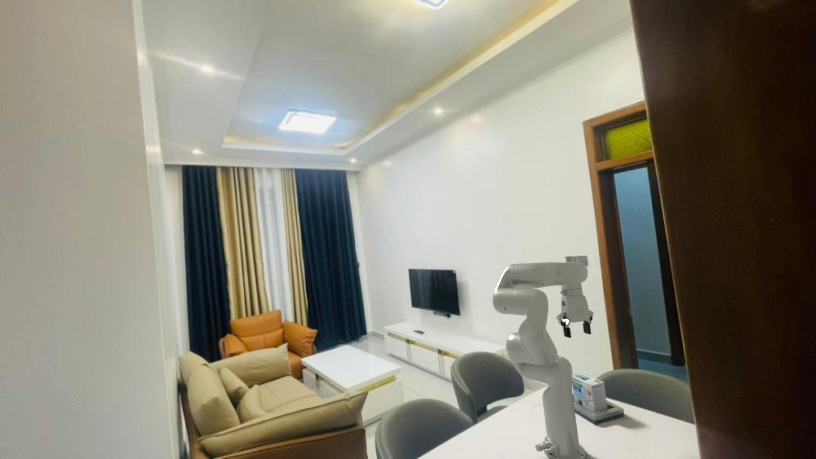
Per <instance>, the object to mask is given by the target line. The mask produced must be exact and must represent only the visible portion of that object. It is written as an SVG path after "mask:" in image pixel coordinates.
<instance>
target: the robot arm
mask: <svg viewBox="0 0 816 459" xmlns="http://www.w3.org/2000/svg"><path fill="white" fill-rule="evenodd" d="M588 272H589V271H588V268H587V266H586V265H585V263H583V262H582V261H581V262H579V261H578V262H576V261H567V262H566V261H565V262H559V261H558V262H557V261H553V262H552V261H550V262H549V261H547V262H546V261H545V262H527V263H526V262H524V263H512V264H509V265H507V267H505V269H504V270H503V272H502V274H501V276H500V278H499V280H498V283H497V284H496V286H495V289H494V291H493V294H492V305H493V306H492V307H493V308H494V309H495V311H496V312H497V313H499V314H502V315H511V316H513V315H514V316H524V317H525V316H526V317H525V318H526V319H524V320H523V321H522V323H521V324H520V325H519V327H518V332H512V333H511V334H509V335H508V337H507V339H506V343H505V349H506V354H507V356H508V358H509V361H510V362H511V364H512V365H513V366H514V368H515V369H516V371H517V373H518V374H519V375H520V377H522V378H524V379H526V380H528V381H529V380H530V381H534V382H539V383H542V384H546V385H547V387H546V388H545V390H544V391H543V393H542V397H541V399H542V407H543V413H544V422H545V428H546V436H545V437H544V441H542V443H538V444H535V445H534V447H535V450H536V451H537V452H539V453H540V452H544V454H545V455H546V456H547V457H549V459H586V458H587V454H586V450H585V448H584V447H583V446H582V445H581V444H580V442H579V432H578V424H577V419H576V413H575V409H574V402H573V386H572V376H573V366H572V364H571V362H570V360H569V359H567V358H565V357H564V356H561V355H559V354H558V351H557V348H556V346H555V343H554V342H553V340H552V337H551V336H550V334H549V332H548V331H547V323H548V318H549V317H548V316H549V315H548V314H549V299H548V296H547V294H546V293H545V292H544V291H542V290H541V289H542V288H547V287H554V286H555V287H556V286H561V287H560V288H561V291H560V293H559V294H561V295H562V296H561V298H560V311H561V312H560V313H559V314H557V315H556V317H555V319H556V320H557V322H558V324H559V325H560V326H561V327H562V328H563V330H562V331H563V336H564V337H565V338H568V339H571V338H572V333H571V332H572V331H571V328H570V327H569V326H570V325H571V323H581V322H582V329H583V334H586V335H592V329H591V324H592V321H593V319H594V318H593V317H594V311H592V310H590V309H589V304H588V301H587V298H586V296H585V294H584V293H583V292H584V291H583V285H582V283H584V282H586V280H587V278H588V276H589V273H588ZM540 288H541V289H540Z"/></svg>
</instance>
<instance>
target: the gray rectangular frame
mask: <svg viewBox="0 0 816 459" xmlns="http://www.w3.org/2000/svg"><path fill="white" fill-rule="evenodd" d="M572 394H573V393H572ZM573 402H574V394H573ZM607 407H608V410H604V411H601V412H597V413H593V412H592V411H590V410H588V409H586V408H585V407H583V406H581V405H579V404H577V403H576V402H574V409H575V415H578V416H580V417H582V418H583V419H585V420H586V421H588V422H590V423H591V424H593V425H595V426H597V425H600V424H604V423H606V422H607V423H608V422H610V421H615V420H618V419H620V418H624V417H625V410H624V408H623V407H621V406H619V405H616V404H615V403H613V402H611V401H609V400H607Z"/></svg>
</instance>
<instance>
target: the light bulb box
mask: <svg viewBox="0 0 816 459" xmlns="http://www.w3.org/2000/svg"><path fill="white" fill-rule="evenodd" d="M605 387H606V386H605V382H604V381H602V380H600V379H597V378H595V377H593V376H590V375H588V374H585V373H579V374H575V375H572V394H574V402H576V403H577V404H579V405H581V406H583V407H585V408H586V409H588V410H590V411H592V412H593V413H597V412H601V411H604V410H608V407H607V401H608V400H607V395H606V394H607V393H606V388H605Z"/></svg>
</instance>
